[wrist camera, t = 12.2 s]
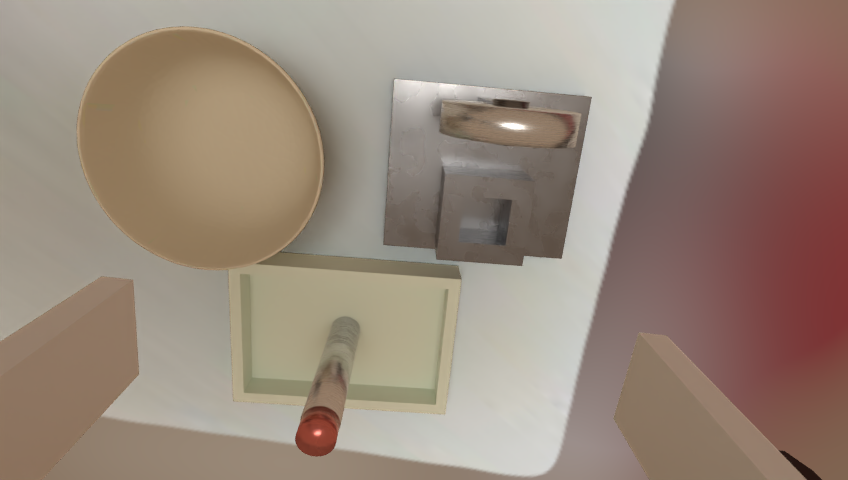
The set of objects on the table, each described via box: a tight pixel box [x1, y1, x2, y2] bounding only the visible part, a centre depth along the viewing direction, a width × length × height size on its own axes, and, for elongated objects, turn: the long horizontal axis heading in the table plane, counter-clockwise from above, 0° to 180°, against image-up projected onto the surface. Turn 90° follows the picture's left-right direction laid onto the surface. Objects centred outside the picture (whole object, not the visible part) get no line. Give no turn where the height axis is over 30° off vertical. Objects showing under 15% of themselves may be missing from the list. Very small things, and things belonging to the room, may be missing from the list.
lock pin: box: [295, 316, 361, 456], centre depth 40 cm, size 3×3×15 cm
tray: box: [228, 252, 461, 414], centre depth 46 cm, size 20×14×3 cm
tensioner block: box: [383, 79, 592, 266], centre depth 37 cm, size 16×14×14 cm
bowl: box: [77, 26, 324, 270], centre depth 37 cm, size 16×16×10 cm
